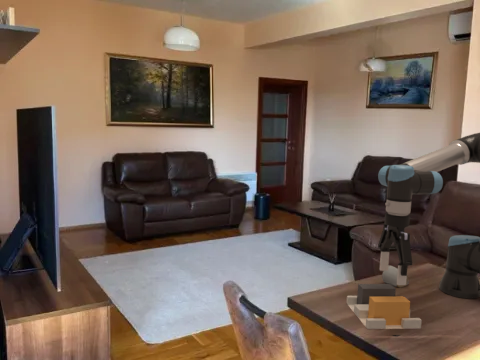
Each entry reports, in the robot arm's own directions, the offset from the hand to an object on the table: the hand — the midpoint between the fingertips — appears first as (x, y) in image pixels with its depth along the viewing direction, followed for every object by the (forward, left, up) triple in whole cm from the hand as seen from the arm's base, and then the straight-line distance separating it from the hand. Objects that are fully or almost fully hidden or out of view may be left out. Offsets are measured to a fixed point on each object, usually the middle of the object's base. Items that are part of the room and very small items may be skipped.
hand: (392, 277), depth 144 cm
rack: (0, -5, -17) cm, 17 cm away
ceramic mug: (-20, -36, -17) cm, 44 cm away
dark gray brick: (0, -11, -16) cm, 19 cm away
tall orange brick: (0, 0, -16) cm, 16 cm away
